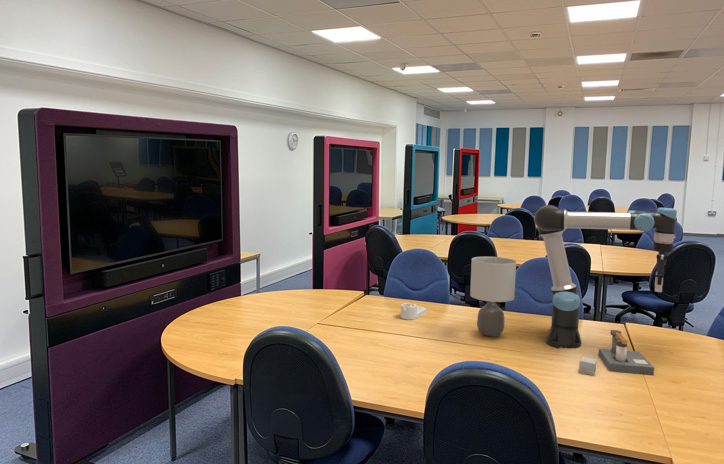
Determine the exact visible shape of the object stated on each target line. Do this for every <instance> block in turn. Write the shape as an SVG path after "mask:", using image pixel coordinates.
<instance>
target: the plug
mask: <svg viewBox="0 0 724 464" xmlns="http://www.w3.org/2000/svg"><path fill="white" fill-rule="evenodd" d="M616 345H617V346H616V359H615V361H619V362H626V354H627V351H628V343H627V344H621V343H620V342H619V341H618V342H617V344H616Z"/></svg>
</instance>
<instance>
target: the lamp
mask: <svg viewBox="0 0 724 464" xmlns="http://www.w3.org/2000/svg"><path fill="white" fill-rule="evenodd" d="M470 266H471V268H470V269H471V270H470V271H471V272H470V286H469V287H470V289H469V290H470V291H469V292H470V293H469V294H470V295H469V296H470V297H471V298H473V299H475V300H479V301H485V302H486V304H485V305H483V306H481V308H480V309H478V313H477V317H476V318H477V320H476V327H477V331H478V332H479V333H480V334H481V335H483V336H486V337H499V336H501V335H502V334H503V332H504V330H505V326H506V325H505V322H506V321H505V318H506V317H505V312H504V310H503V309H502V308H500V307H499V306H498V304H497V303H504V302H511V301H515V296H516V295H515V291H516V276H517V275H516V274H517V273H516V272H517V261H516V260H515V259H513V258H509V257H500V256H475V257H472V258H471V265H470Z"/></svg>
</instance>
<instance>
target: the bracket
mask: <svg viewBox="0 0 724 464" xmlns="http://www.w3.org/2000/svg"><path fill="white" fill-rule="evenodd" d="M427 313H428V309H427V307H423V306H420V305H419V306H418V304H416V303H413V304H412V303H411V302H405V303H401V304H400V319H404V320H408V321H409V320H416V319H417V318H421V317H422V316H424V315H425V314H427Z"/></svg>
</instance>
